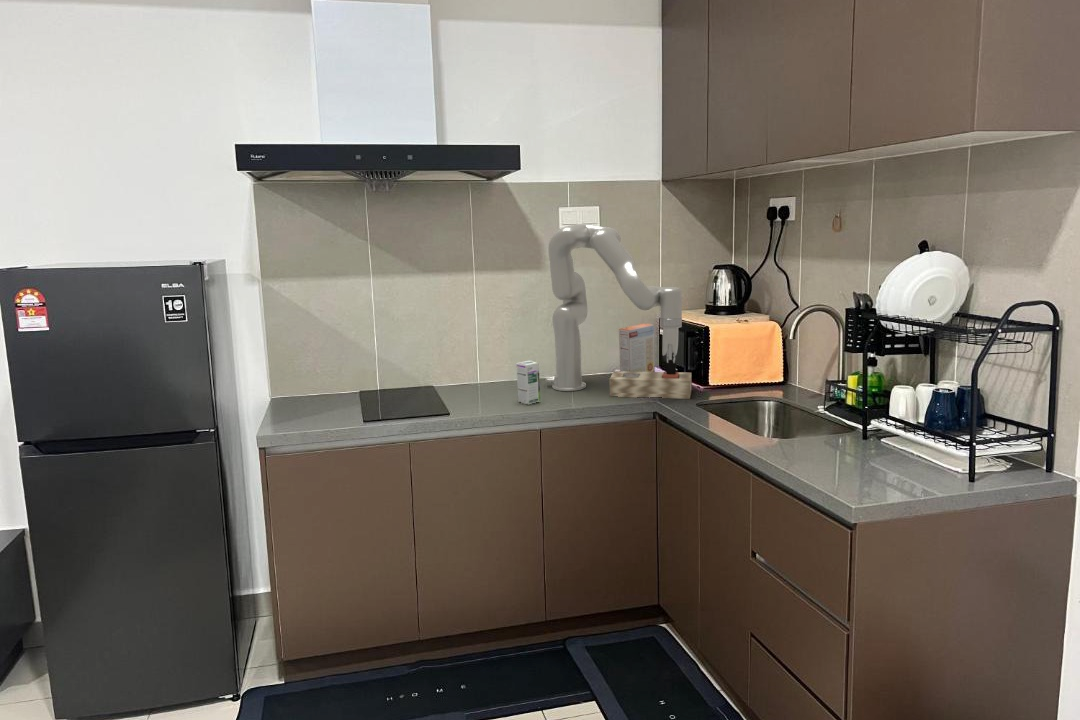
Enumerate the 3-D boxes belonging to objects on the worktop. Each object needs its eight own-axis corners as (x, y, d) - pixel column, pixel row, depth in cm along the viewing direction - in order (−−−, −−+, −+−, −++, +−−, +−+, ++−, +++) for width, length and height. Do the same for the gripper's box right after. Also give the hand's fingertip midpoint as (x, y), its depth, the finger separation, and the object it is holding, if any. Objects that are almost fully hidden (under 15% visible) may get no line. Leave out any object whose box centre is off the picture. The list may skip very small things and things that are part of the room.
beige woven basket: (609, 396, 280) (609, 379, 278) (614, 388, 291) (614, 371, 290) (689, 398, 273) (690, 380, 272) (691, 390, 285) (691, 372, 283)
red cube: (662, 388, 278) (662, 375, 277) (663, 384, 283) (663, 371, 282) (677, 388, 277) (677, 375, 276) (678, 384, 282) (678, 372, 281)
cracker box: (643, 375, 309) (643, 322, 305) (655, 377, 305) (655, 324, 300) (619, 381, 300) (618, 327, 296) (630, 384, 296) (629, 329, 292)
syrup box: (528, 405, 272) (526, 364, 269) (517, 402, 277) (515, 362, 274) (541, 402, 276) (539, 362, 273) (530, 399, 280) (528, 359, 277)
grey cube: (623, 389, 281) (623, 377, 280) (625, 386, 286) (624, 373, 285) (637, 390, 280) (637, 377, 279) (639, 386, 285) (639, 373, 284)
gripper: (661, 319, 283) (662, 368, 287) (658, 326, 269) (658, 378, 273) (682, 319, 281) (683, 369, 285) (680, 326, 267) (680, 378, 271)
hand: (671, 373), depth 279 cm, fingers closed
